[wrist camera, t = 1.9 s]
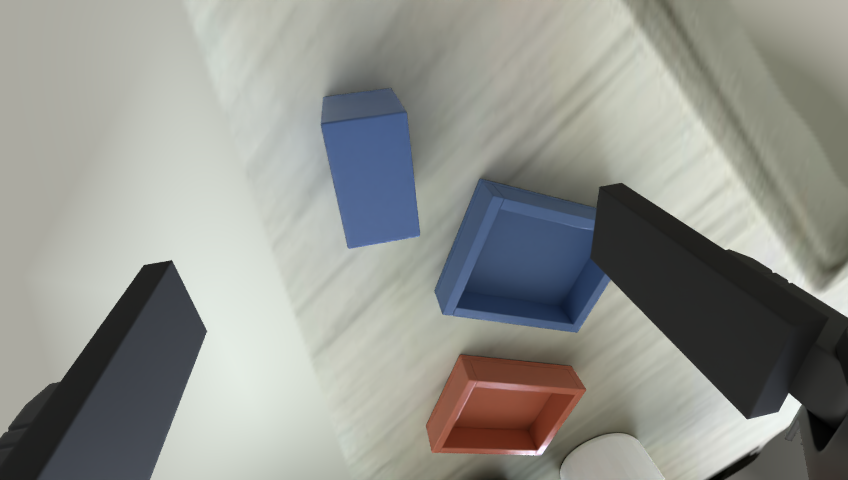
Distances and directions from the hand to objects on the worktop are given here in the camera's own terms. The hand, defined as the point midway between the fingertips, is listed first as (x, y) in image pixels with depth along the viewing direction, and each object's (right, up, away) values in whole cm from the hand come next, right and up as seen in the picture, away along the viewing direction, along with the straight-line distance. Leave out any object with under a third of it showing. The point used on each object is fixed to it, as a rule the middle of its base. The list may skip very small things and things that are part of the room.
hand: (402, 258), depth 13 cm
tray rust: (+7, -13, +22) cm, 26 cm away
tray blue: (+7, 0, +15) cm, 17 cm away
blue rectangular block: (-2, +5, +9) cm, 11 cm away
